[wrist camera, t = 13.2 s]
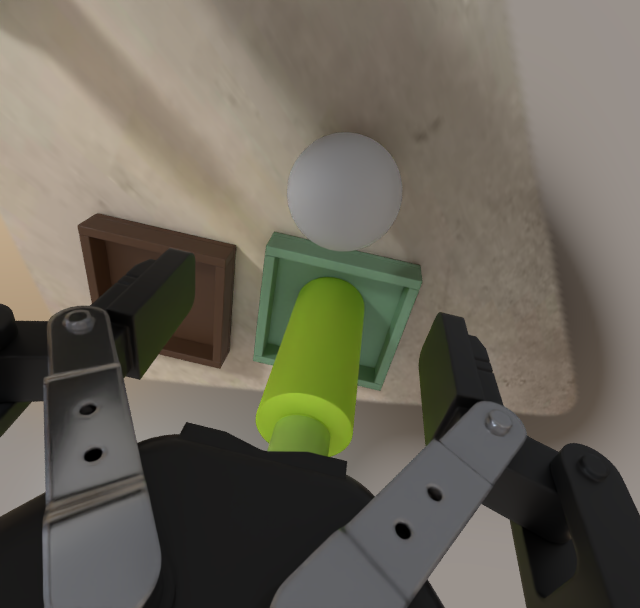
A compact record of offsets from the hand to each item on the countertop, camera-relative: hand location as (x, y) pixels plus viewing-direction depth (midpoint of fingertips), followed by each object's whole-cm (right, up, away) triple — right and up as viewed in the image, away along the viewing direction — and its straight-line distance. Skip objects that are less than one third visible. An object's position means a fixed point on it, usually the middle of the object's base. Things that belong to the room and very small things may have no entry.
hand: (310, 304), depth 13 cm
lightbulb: (+3, +10, +15) cm, 19 cm away
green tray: (+1, 0, +22) cm, 22 cm away
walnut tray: (-14, +1, +24) cm, 27 cm away
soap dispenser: (+1, 0, +22) cm, 22 cm away
